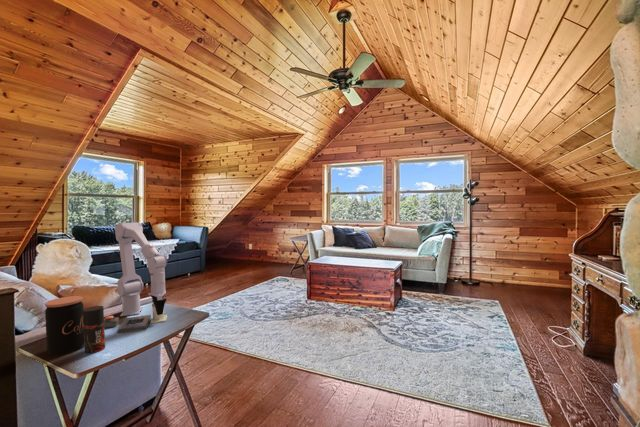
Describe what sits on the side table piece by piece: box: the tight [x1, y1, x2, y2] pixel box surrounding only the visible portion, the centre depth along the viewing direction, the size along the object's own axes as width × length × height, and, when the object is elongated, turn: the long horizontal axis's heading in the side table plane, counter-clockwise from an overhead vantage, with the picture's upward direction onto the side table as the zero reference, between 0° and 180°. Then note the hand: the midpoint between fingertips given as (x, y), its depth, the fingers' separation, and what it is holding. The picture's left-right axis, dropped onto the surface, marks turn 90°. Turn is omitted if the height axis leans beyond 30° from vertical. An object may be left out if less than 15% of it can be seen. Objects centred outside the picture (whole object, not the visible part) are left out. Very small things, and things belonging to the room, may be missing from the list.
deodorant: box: [83, 305, 106, 354], centre depth 111 cm, size 6×6×15 cm
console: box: [104, 316, 120, 329], centre depth 133 cm, size 5×6×2 cm
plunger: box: [104, 315, 115, 322], centre depth 133 cm, size 3×3×3 cm
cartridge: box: [151, 302, 165, 320], centre depth 139 cm, size 5×5×7 cm
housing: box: [117, 314, 152, 334], centre depth 134 cm, size 14×10×2 cm
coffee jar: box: [44, 295, 85, 356], centre depth 112 cm, size 11×11×18 cm
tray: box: [150, 314, 168, 324], centre depth 140 cm, size 8×6×1 cm
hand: (159, 312), depth 140 cm, fingers open, 7 cm apart
